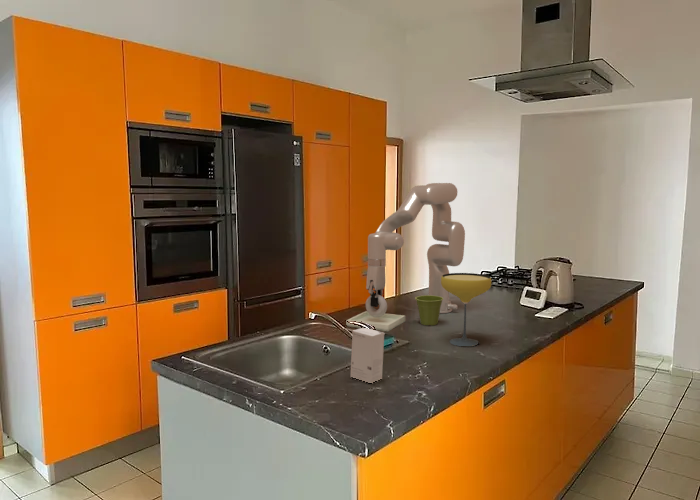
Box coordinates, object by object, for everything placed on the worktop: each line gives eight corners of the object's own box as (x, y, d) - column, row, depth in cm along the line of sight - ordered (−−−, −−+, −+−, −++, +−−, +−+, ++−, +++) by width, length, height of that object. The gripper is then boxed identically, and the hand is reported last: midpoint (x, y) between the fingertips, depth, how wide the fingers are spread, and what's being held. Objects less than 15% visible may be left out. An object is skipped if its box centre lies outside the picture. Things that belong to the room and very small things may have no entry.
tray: (405, 321, 228) (405, 315, 228) (388, 331, 211) (388, 325, 211) (365, 316, 237) (365, 311, 237) (346, 326, 220) (346, 320, 220)
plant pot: (419, 319, 232) (420, 294, 231) (446, 322, 227) (446, 296, 225) (410, 325, 221) (411, 299, 220) (438, 328, 216) (438, 301, 215)
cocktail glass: (481, 352, 184) (483, 282, 181) (432, 345, 192) (434, 278, 190) (494, 340, 199) (496, 275, 196) (448, 333, 208) (450, 271, 205)
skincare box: (350, 378, 158) (350, 330, 157) (362, 373, 163) (362, 326, 161) (372, 385, 153) (372, 335, 151) (384, 379, 158) (384, 331, 156)
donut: (388, 317, 223) (388, 294, 222) (384, 319, 220) (385, 296, 219) (367, 315, 228) (367, 292, 227) (364, 316, 225) (364, 293, 224)
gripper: (376, 260, 230) (376, 301, 232) (360, 264, 216) (359, 308, 218) (392, 261, 227) (392, 302, 229) (376, 265, 212) (376, 310, 214)
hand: (376, 305), depth 223 cm, fingers closed on donut, 3 cm apart
